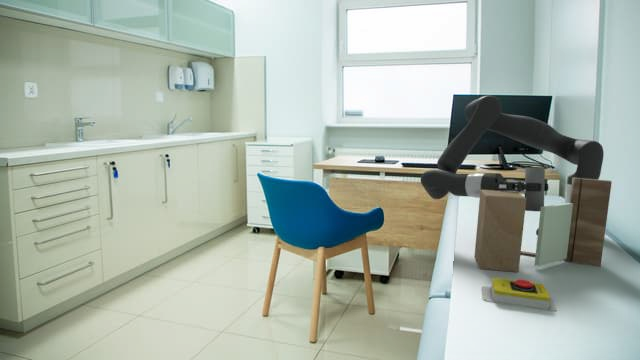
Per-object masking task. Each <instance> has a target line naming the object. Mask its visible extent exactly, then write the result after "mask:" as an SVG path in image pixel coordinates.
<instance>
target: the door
mask: <svg viewBox="0 0 640 360" xmlns="http://www.w3.org/2000/svg"><path fill="white" fill-rule="evenodd" d="M572 209H573V203H565V202H564V203H559V204H552V205H551V204H550V205H546V206H545V205H544V207H541V211H539V221H538V228H537V229H536V231H535V232H536V233H535V234H536V235H537V237H536V248H535V249H536V250H535V253H536V256H534V266H537V267H541V266H545V265H548V264H553V263H555V262H559V261H563V260H564V259H567V250H568V242H569V234H570V226H571V217H572Z"/></svg>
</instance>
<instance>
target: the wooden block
mask: <svg viewBox="0 0 640 360" xmlns="http://www.w3.org/2000/svg"><path fill="white" fill-rule="evenodd" d="M478 202H479V203H478V204H479V205H478V216H477V222H476V223H477V224H476V235H475V236H476V237H475V238H476V239H475V244H474V245H475V246H474V247H475V248H474V259H475V262H476V264H477V267H478V268H479V269H481V270H489V271H499V272H500V271H501V272H511V273H519V271H520V262H521V255H522V254H521V251H522V242H523V234H524V233H523V232H524V224H525V214H526V211H525V207H526V198H525V196H523V195H522V194H520V193H518V192H511V191H495V190H481V191H480V198H479V201H478Z"/></svg>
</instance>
